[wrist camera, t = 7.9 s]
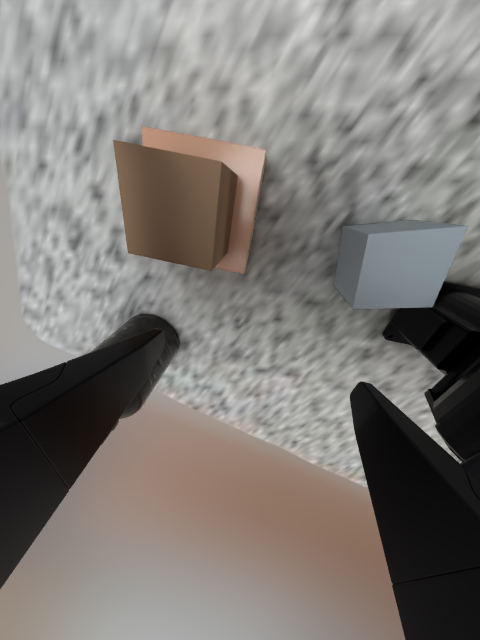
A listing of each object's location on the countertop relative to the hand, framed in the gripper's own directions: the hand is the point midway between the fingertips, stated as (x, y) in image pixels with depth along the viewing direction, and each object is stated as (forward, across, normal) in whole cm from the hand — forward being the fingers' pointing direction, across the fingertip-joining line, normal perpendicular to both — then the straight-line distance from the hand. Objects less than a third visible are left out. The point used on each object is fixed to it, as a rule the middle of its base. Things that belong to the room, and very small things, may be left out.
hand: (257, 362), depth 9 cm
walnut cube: (+9, +6, -5) cm, 12 cm away
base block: (+12, +6, -5) cm, 14 cm away
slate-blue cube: (+12, -8, -4) cm, 15 cm away
